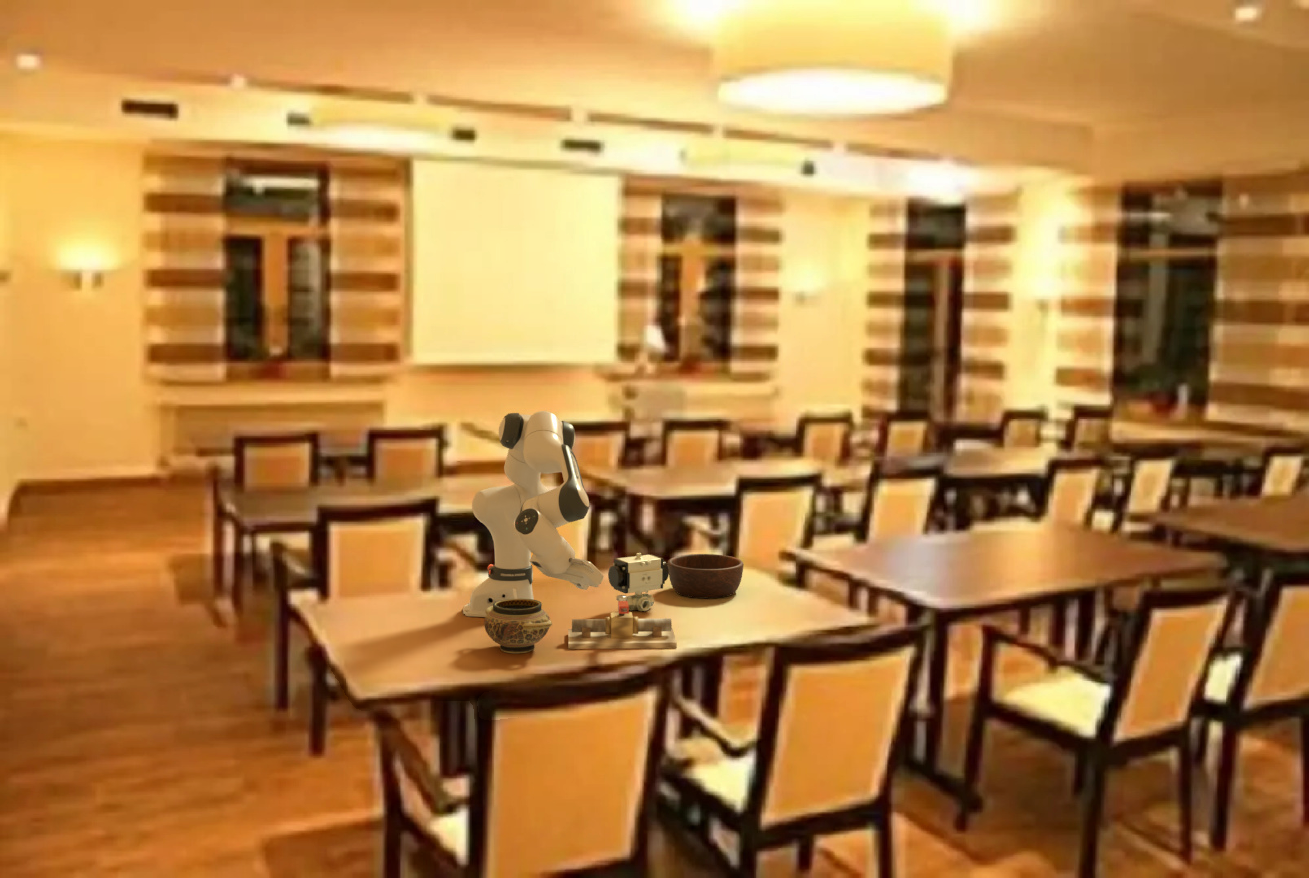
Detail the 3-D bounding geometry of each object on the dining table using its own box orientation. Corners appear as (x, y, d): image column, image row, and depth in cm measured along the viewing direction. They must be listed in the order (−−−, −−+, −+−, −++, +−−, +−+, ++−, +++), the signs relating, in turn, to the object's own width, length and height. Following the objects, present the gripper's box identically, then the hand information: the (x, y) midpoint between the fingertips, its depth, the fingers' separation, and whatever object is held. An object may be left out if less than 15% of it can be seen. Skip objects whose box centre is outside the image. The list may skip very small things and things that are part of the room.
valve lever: (616, 600, 357) (616, 593, 357) (626, 600, 357) (626, 593, 357) (618, 613, 342) (618, 606, 342) (629, 613, 342) (629, 606, 342)
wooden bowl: (652, 593, 413) (652, 562, 412) (694, 579, 434) (694, 550, 432) (717, 605, 399) (717, 573, 398) (757, 590, 419) (757, 559, 418)
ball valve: (621, 616, 384) (621, 559, 382) (607, 610, 391) (607, 553, 389) (671, 609, 393) (671, 553, 391) (656, 603, 400) (657, 548, 398)
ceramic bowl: (563, 664, 343) (574, 609, 344) (511, 660, 332) (522, 603, 332) (511, 645, 362) (522, 593, 362) (460, 640, 350) (471, 587, 351)
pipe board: (568, 648, 348) (568, 608, 347) (568, 634, 363) (568, 595, 362) (676, 647, 350) (677, 607, 349) (672, 633, 365) (672, 594, 364)
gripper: (592, 552, 322) (618, 583, 330) (537, 541, 335) (563, 571, 344) (580, 572, 319) (606, 603, 328) (524, 560, 333) (551, 590, 341)
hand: (584, 587), depth 336 cm, fingers closed
